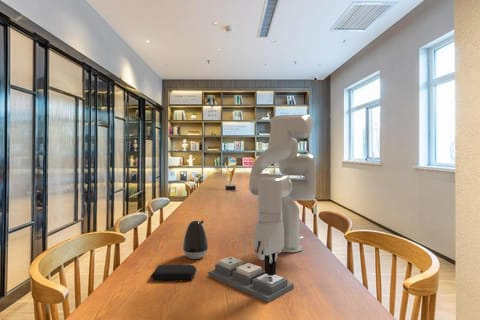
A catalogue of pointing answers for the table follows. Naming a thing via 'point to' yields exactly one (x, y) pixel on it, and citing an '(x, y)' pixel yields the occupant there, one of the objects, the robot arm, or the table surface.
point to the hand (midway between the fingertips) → (270, 273)
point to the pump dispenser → (195, 240)
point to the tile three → (270, 279)
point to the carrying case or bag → (174, 273)
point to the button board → (250, 283)
